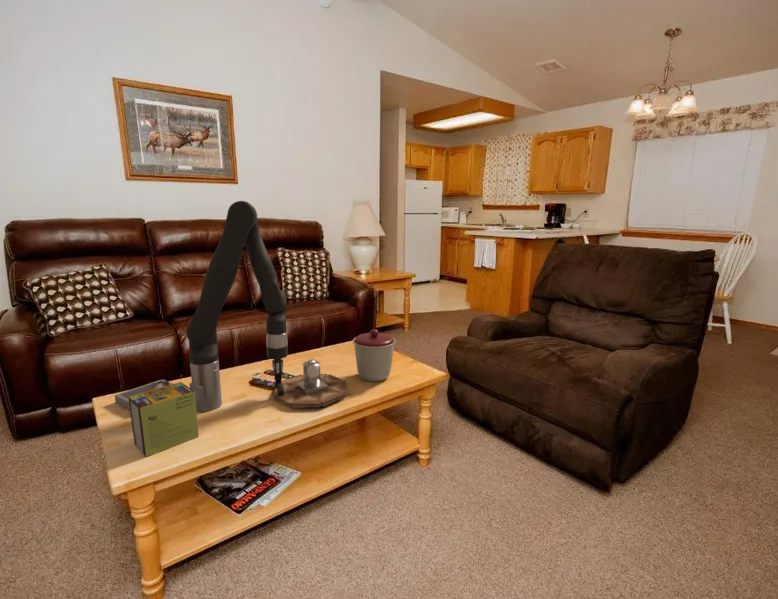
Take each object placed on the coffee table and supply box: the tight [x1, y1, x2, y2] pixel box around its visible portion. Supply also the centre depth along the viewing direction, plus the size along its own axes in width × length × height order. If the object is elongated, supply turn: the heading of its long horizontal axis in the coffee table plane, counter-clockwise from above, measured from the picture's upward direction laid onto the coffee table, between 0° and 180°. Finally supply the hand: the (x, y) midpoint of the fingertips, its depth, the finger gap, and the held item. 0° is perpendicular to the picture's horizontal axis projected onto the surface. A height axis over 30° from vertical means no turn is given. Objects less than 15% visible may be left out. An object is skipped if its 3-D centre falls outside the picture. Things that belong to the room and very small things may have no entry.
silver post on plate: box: [297, 359, 328, 395], centre depth 159 cm, size 9×9×11 cm
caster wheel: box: [147, 380, 170, 392], centre depth 150 cm, size 7×11×10 cm
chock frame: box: [114, 379, 174, 412], centre depth 153 cm, size 17×15×4 cm
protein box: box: [128, 381, 200, 458], centre depth 126 cm, size 10×15×16 cm
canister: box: [352, 328, 397, 382], centre depth 175 cm, size 18×18×21 cm
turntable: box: [272, 373, 348, 408], centre depth 160 cm, size 27×27×5 cm
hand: (278, 387), depth 156 cm, fingers closed
